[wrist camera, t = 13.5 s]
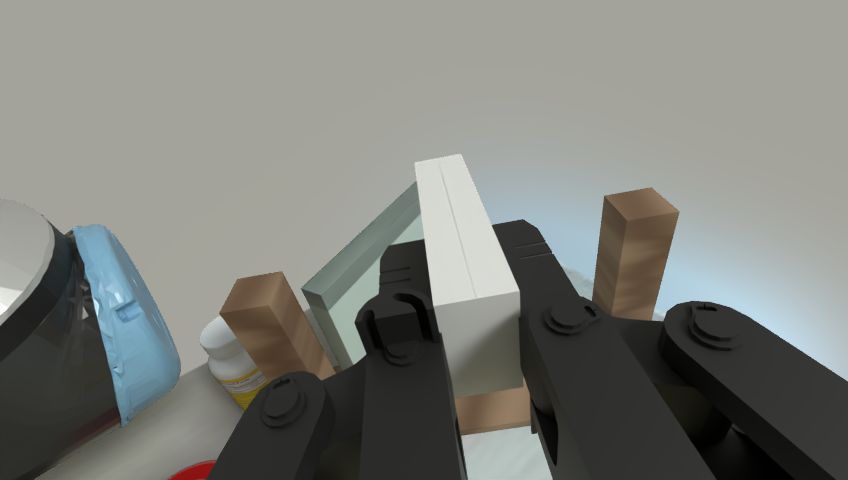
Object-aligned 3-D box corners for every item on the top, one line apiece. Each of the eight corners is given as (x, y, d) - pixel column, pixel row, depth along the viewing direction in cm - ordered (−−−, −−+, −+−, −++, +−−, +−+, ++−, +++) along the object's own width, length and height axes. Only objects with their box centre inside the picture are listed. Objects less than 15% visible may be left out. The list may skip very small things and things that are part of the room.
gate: (366, 393, 33) (320, 295, 26) (349, 384, 34) (300, 288, 27) (465, 254, 46) (452, 164, 39) (450, 251, 47) (435, 163, 40)
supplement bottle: (268, 365, 40) (223, 300, 34) (310, 375, 38) (270, 308, 32) (233, 413, 36) (175, 349, 30) (277, 427, 34) (225, 360, 28)
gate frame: (316, 456, 31) (215, 319, 21) (330, 372, 38) (258, 238, 28) (652, 407, 30) (708, 236, 20) (606, 328, 36) (631, 170, 26)
